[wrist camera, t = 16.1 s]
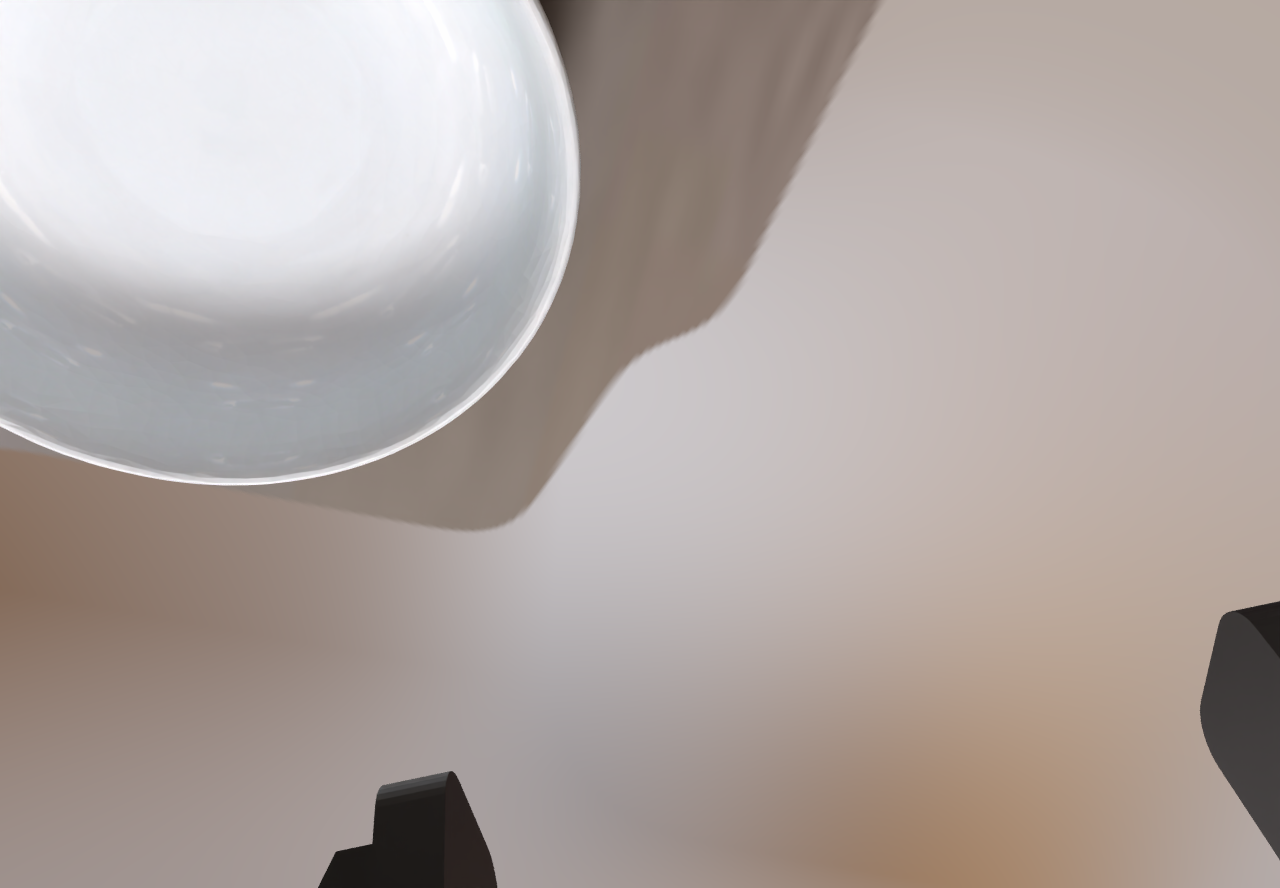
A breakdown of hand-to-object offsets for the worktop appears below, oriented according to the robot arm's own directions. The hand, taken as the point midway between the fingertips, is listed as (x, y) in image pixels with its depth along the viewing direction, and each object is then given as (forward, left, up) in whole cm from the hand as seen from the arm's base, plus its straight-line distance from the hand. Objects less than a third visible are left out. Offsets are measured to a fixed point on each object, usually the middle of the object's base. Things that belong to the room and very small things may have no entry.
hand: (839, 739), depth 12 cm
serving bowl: (-12, -1, -29) cm, 31 cm away
